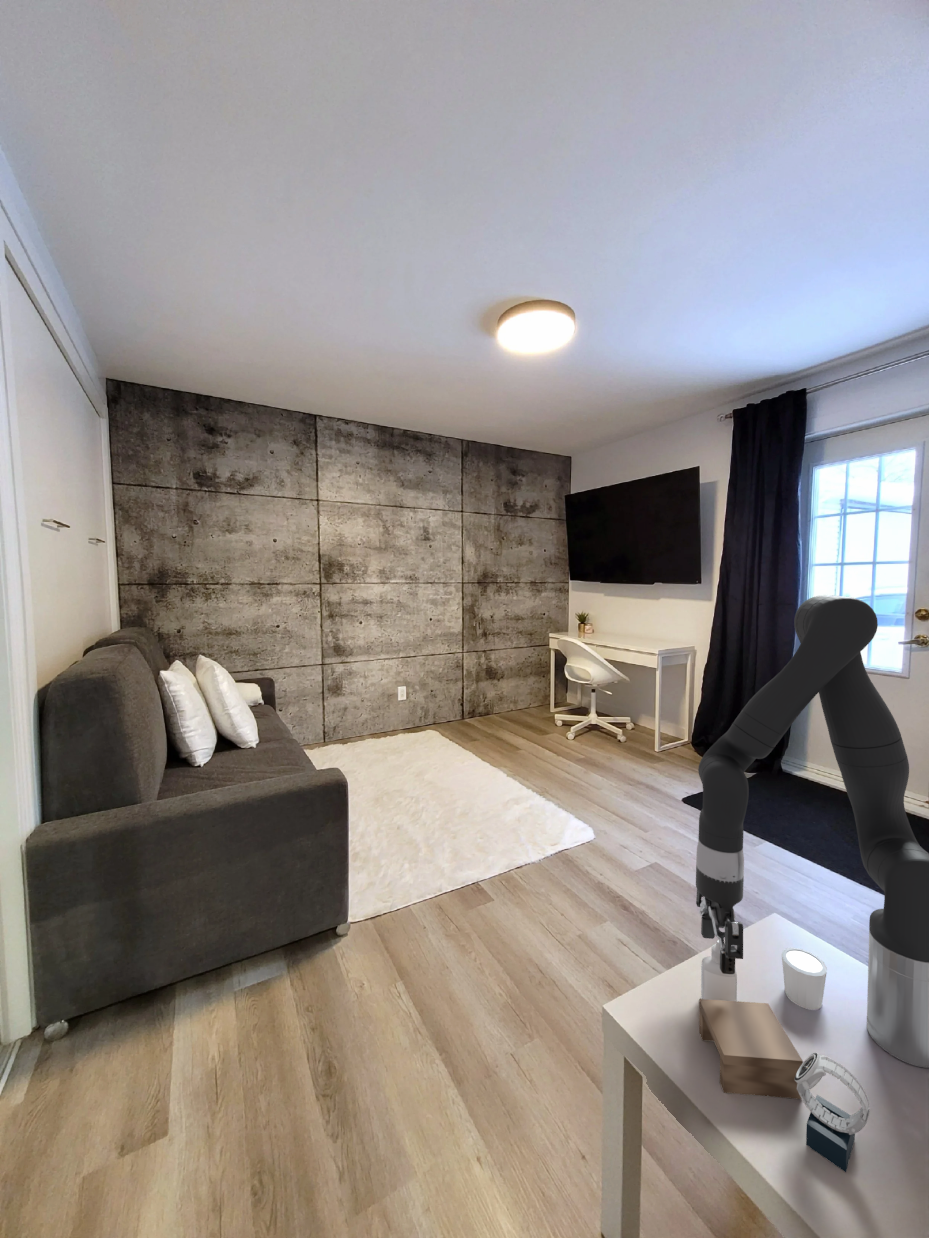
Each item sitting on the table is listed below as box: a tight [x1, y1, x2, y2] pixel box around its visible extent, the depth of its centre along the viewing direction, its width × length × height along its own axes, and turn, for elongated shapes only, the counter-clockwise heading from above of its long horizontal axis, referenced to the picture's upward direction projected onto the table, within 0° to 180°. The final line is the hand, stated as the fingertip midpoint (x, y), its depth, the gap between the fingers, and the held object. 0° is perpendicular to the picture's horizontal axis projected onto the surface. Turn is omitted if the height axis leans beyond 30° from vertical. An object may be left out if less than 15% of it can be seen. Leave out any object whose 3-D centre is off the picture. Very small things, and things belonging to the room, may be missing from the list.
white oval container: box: [781, 947, 828, 1011], centre depth 89 cm, size 7×7×7 cm
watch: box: [795, 1052, 871, 1173], centre depth 66 cm, size 6×8×11 cm
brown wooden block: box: [698, 998, 804, 1100], centre depth 77 cm, size 11×10×6 cm
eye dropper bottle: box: [700, 939, 738, 1001], centre depth 88 cm, size 4×6×12 cm
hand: (717, 953), depth 88 cm, fingers open, 8 cm apart
